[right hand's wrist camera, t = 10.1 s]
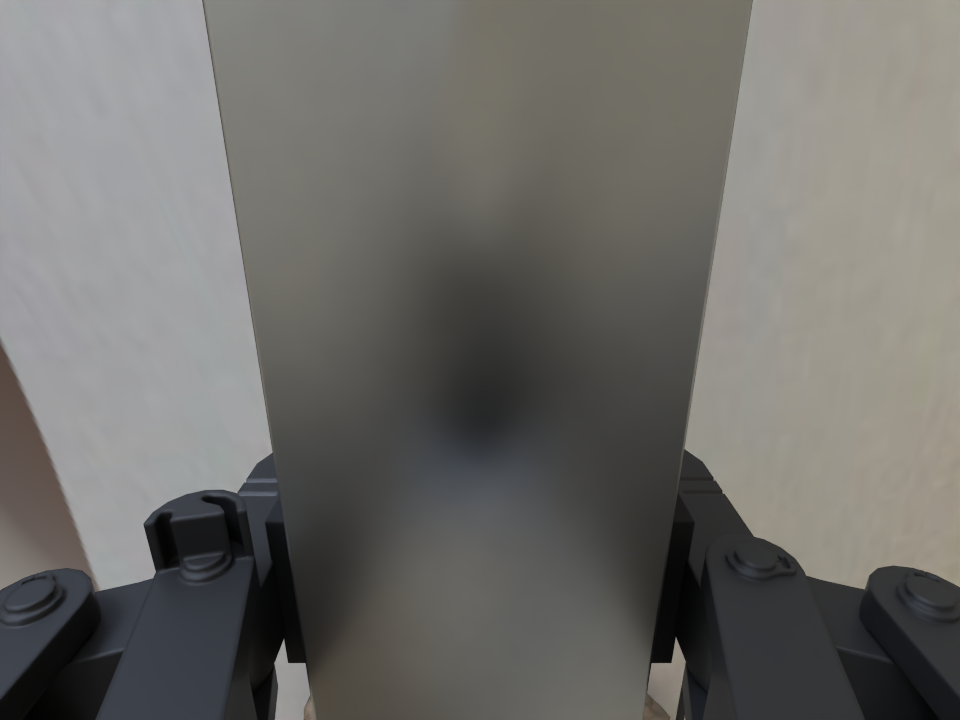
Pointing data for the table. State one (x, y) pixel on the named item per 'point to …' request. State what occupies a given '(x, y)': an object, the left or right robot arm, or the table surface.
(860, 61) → the table surface
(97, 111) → the table surface
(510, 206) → the bar
